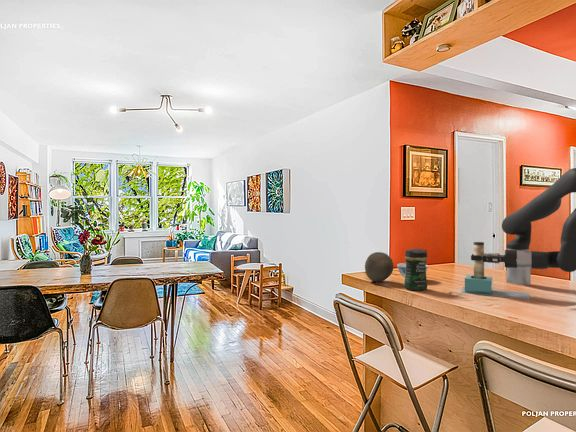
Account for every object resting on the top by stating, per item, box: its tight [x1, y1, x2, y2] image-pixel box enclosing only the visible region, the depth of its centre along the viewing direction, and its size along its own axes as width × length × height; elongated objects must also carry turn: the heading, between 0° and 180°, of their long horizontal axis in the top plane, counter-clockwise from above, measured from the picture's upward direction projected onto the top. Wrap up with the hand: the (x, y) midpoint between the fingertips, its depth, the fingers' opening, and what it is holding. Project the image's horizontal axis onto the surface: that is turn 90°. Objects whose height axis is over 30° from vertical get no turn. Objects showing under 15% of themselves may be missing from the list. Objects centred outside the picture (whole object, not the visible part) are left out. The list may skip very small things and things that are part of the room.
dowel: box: [473, 241, 485, 279], centre depth 160 cm, size 4×4×16 cm
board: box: [460, 286, 531, 301], centre depth 158 cm, size 25×13×1 cm, turn 59°
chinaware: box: [396, 262, 429, 278], centre depth 193 cm, size 15×15×8 cm
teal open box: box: [464, 274, 493, 296], centre depth 161 cm, size 10×10×6 cm
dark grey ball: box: [364, 251, 394, 283], centre depth 188 cm, size 14×14×15 cm
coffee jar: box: [404, 248, 428, 291], centre depth 170 cm, size 10×8×19 cm
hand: (471, 257), depth 162 cm, fingers closed on dowel, 4 cm apart
